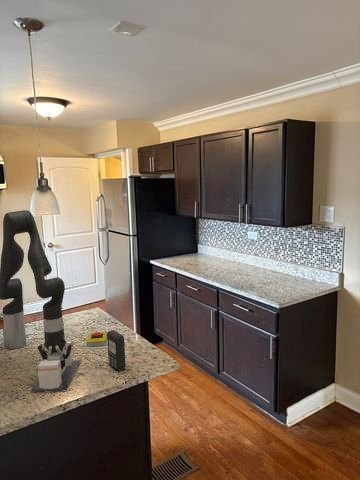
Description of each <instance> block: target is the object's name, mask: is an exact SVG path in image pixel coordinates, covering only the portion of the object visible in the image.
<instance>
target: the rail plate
mask: <svg viewBox="0 0 360 480" xmlns="http://www.w3.org/2000/svg"><path fill="white" fill-rule="evenodd" d="M80 365H81V360H80V359H78V360H76V359H75V360H74V359H73V362H72V364H71V366H65V367H64V368H63V369H62V371H61V381H62V382H61V384H60V386H59V388H40V386H39V378H38V379H37V380H36V382H35V383H34V385H33V386H32V387H31V389H30V391H31V392H32V393H46V392H45V391H55V392H64V391H63V390H67V391H68V389H69V387H70V385H71V383H72V380H73V379H74V377H75V375H76V373H77V372H78V371H77V370H78V369H79V366H80ZM68 386H69V387H68ZM67 388H68V389H67Z"/></svg>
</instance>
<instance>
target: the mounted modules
mask: <svg viewBox="0 0 360 480" xmlns="http://www.w3.org/2000/svg"><path fill="white" fill-rule="evenodd" d="M66 343H73V342H72V341H66ZM63 349H64V354H65V355H66V352H67V348H66V346H64V348H63ZM73 355H74V354H73V348H72V349H71V352H70V355H69V357H68V359H65V364H66V365H65V366H71V364H72V362H73V361H74V356H73ZM37 371H38V379H39V386H40V388H59V386H60V384H61V382H62V381H61V368H60V360H52V361H47V360H41V361H40V362H39V364H37Z"/></svg>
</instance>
